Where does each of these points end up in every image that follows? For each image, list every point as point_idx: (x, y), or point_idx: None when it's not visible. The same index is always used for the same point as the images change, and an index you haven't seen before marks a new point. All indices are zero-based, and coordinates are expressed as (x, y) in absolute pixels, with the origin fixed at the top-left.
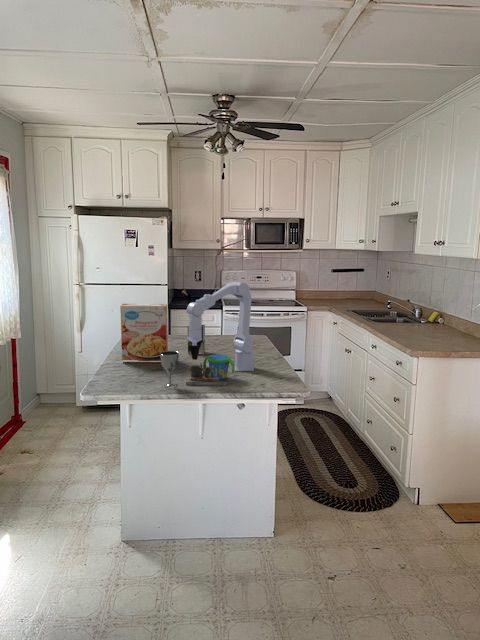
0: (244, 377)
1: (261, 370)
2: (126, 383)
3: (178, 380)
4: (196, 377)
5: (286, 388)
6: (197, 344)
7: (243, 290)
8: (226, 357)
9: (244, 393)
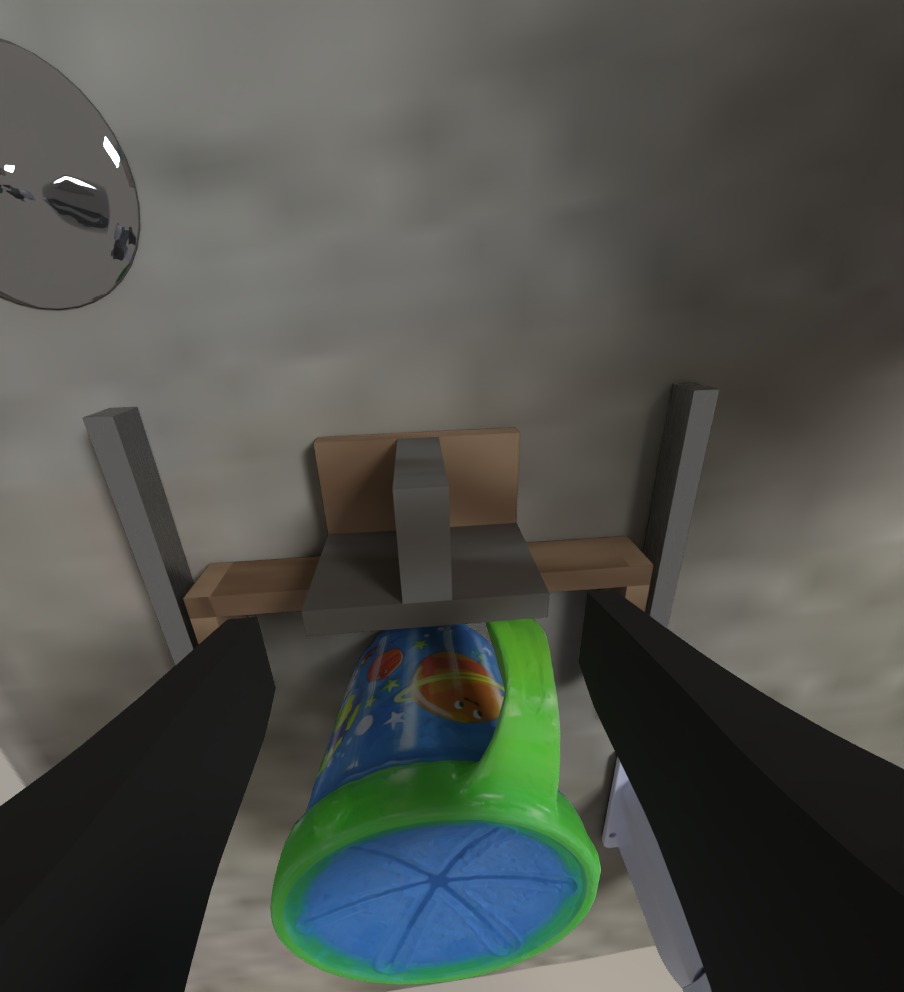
0: None
1: (619, 866)
2: None
3: (296, 282)
4: (365, 502)
5: (253, 972)
6: (745, 962)
7: None
8: (470, 946)
9: None
